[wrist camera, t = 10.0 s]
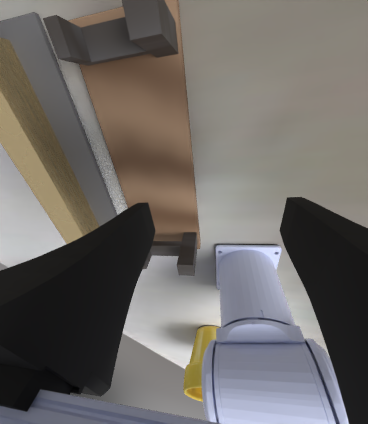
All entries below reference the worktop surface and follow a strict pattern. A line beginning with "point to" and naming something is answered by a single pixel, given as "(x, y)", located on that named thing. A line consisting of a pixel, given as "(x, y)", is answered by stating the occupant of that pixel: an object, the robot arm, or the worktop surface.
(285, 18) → the worktop surface
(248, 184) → the worktop surface
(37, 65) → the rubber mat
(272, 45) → the worktop surface
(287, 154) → the worktop surface
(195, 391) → the plant pot
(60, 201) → the brass rail
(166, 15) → the hook rack
